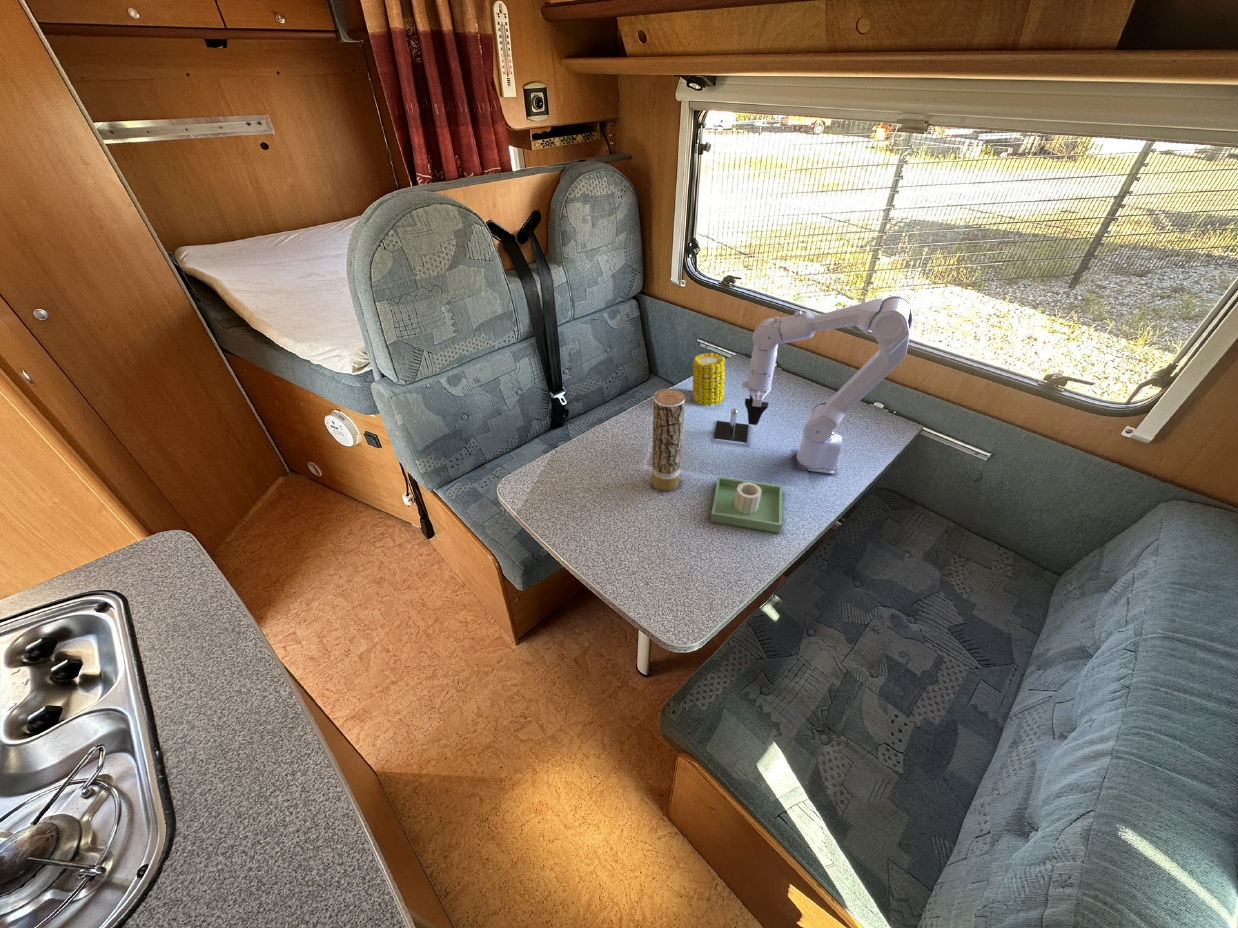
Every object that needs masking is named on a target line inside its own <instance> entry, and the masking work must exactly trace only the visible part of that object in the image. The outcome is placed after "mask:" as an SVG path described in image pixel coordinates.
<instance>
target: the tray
mask: <svg viewBox="0 0 1238 928" xmlns="http://www.w3.org/2000/svg"><path fill="white" fill-rule="evenodd" d="M744 482H750V483H754V484H756V485H758V486H759V487H760V488H761V497H760V502H759V507H758V510H757V511H756V512H754V513H752V514H749V513H748V514H745V513H743V512H742V513H741V512H739V511H738V510H737V509H736V508H735V506H734V504H735V497H736V491H737V487H738V485H739V484H741V483H744ZM782 521H783V486H782V485H778V484H777V485H776V484H769V483H762V482H756V481H750V480H742V479H736V478H729V477H723V476H717V478H716V485H715V490H714V496H713V503H712V508H711V515H710V522H713V523H719V524H725V525H730V526H734V527H735V526H736V527H741V528H747V529H753V530H759V531H766V532H770V533H771V532H773V533H776V534H780V532H781V529H782Z"/></svg>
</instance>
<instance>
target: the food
mask: <svg viewBox="0 0 1238 928" xmlns="http://www.w3.org/2000/svg"><path fill="white" fill-rule="evenodd" d="M692 360H693V363H692V368H693V369H692V398H693V401H694V402H695V403H697V404H699V405H703V406H707V407H708V406H717V405H718V404H722V401H723V400H724V395H725V392H724V391H725V383H726V381H725V379H726V378H725V376H726V369H725V368H726V366H725V365H726V364H725V363H726V359H725V357H724V356H722V355H721V354H718V353H713V352H709V353H708V352H705V353H700V354H699V355H698V354H697V355H696V356H694V358H693V359H692Z"/></svg>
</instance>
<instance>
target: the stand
mask: <svg viewBox="0 0 1238 928" xmlns="http://www.w3.org/2000/svg"><path fill="white" fill-rule="evenodd" d="M738 413H739V411H738V409H737V408H732V409H731V410H730V419H729V421H723V420H716V424H715V430H714V435H713V439H715V440H721V441H729V442H730V441H731V442H737V443H745V444H747V443H748V438H749V437H748V436H749V429H750V424H749V423H748V424H747V423H739V422H737V418H738Z"/></svg>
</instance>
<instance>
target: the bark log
mask: <svg viewBox="0 0 1238 928" xmlns="http://www.w3.org/2000/svg"><path fill="white" fill-rule="evenodd" d="M685 403H686V394H685V393H684V392H683V391H680V390H679V389H675V388H662V389H659V390H657V391H655V393H654V395H653V408H652V409H653V414H652V415H653V416H652V417H653V418H652V457H651V458H652V459H651V461H652V462H651V463H652V464H651V484H652V485H653V487H654V488H655V489H657V490H659V491H662V492H669V491H673V490H675V489H677V488H678V487H679V484H680V476H681V463H682V449H683V448H682V447H683V435H684V433H683V432H684V419H685V406H686V404H685Z"/></svg>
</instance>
